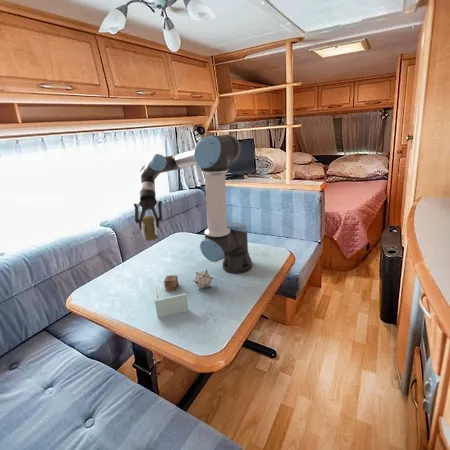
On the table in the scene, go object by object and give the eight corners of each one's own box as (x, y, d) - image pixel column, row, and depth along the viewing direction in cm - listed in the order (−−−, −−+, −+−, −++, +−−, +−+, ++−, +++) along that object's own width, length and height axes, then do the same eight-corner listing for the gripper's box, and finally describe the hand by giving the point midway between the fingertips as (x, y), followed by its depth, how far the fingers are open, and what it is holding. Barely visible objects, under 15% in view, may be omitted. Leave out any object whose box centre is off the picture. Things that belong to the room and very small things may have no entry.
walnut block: (178, 284, 133) (177, 275, 132) (176, 290, 129) (174, 280, 127) (167, 285, 134) (166, 275, 132) (165, 290, 129) (163, 281, 127)
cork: (151, 241, 133) (147, 219, 130) (142, 239, 137) (138, 217, 133) (160, 237, 138) (157, 215, 135) (151, 235, 141) (148, 214, 138)
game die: (207, 296, 129) (209, 287, 121) (190, 289, 129) (190, 280, 121) (214, 279, 134) (216, 269, 126) (197, 273, 135) (198, 263, 127)
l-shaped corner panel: (188, 310, 113) (186, 294, 111) (157, 318, 110) (154, 301, 108) (184, 295, 124) (181, 280, 122) (155, 301, 121) (153, 286, 119)
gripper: (166, 195, 148) (170, 235, 137) (130, 198, 145) (131, 240, 135) (164, 186, 141) (168, 228, 131) (127, 190, 139) (127, 233, 128)
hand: (149, 234), depth 133 cm, fingers closed on cork, 5 cm apart
